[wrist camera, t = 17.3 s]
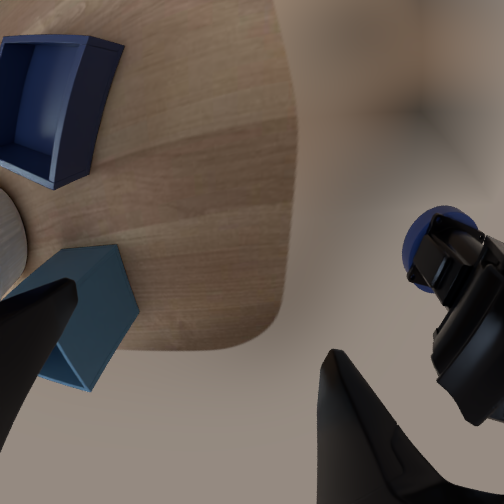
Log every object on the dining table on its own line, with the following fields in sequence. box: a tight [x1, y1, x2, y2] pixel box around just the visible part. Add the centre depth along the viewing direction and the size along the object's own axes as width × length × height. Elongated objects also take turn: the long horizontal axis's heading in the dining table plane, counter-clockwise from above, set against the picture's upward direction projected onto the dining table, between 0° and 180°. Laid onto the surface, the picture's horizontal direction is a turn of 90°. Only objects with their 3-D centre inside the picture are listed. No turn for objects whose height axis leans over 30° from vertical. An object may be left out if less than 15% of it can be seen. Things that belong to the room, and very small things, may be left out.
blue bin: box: [1, 244, 140, 392], centre depth 20 cm, size 7×7×10 cm
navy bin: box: [0, 34, 124, 190], centre depth 15 cm, size 10×10×4 cm
